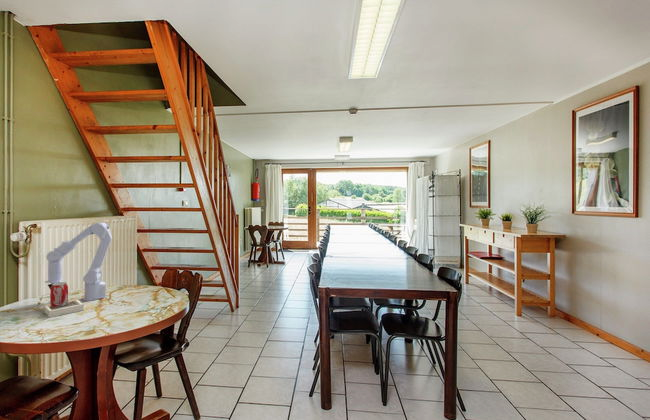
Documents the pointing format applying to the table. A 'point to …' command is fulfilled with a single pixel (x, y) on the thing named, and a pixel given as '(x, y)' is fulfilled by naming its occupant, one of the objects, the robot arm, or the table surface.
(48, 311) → the frame
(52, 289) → the soda can
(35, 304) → the table surface
